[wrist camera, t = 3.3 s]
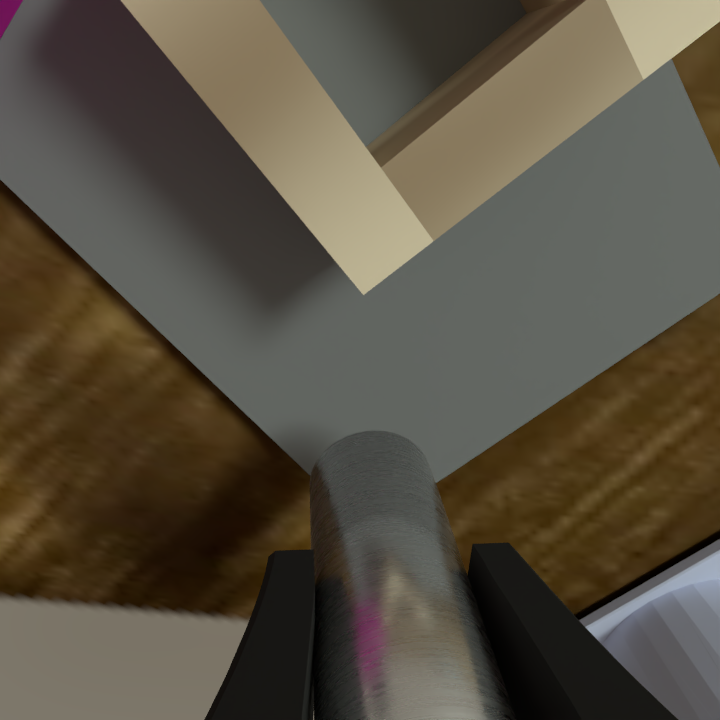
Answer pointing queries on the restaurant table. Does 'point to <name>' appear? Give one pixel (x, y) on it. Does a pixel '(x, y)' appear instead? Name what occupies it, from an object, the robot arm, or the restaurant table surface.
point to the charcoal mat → (312, 261)
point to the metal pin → (393, 593)
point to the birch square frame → (415, 112)
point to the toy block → (7, 13)
